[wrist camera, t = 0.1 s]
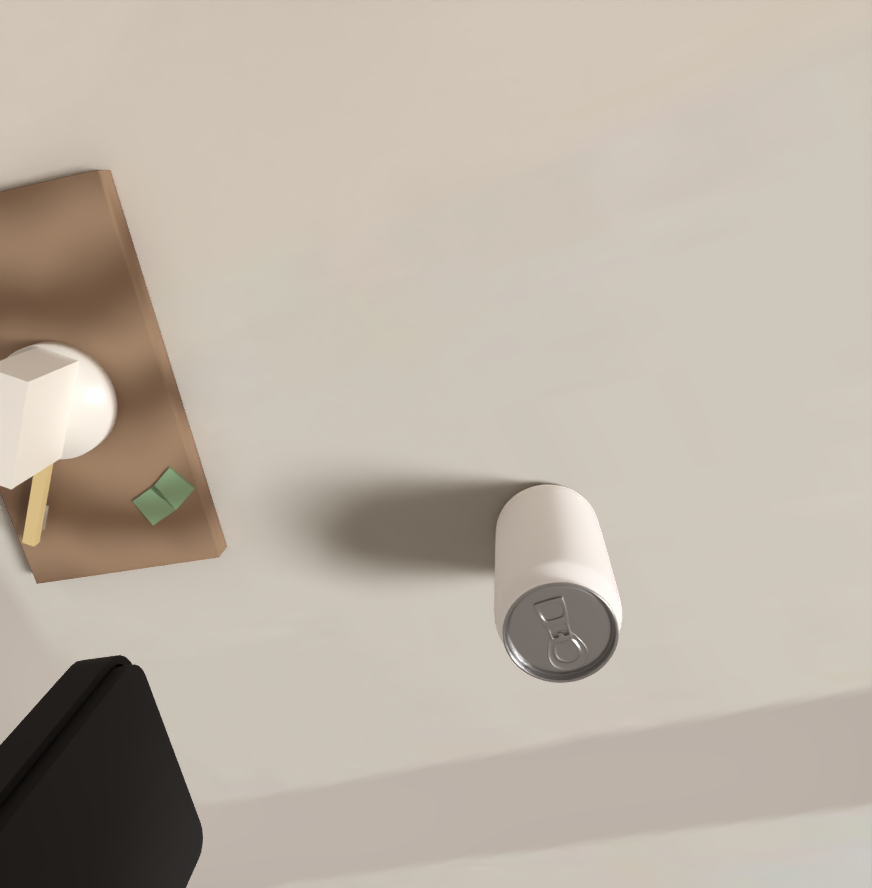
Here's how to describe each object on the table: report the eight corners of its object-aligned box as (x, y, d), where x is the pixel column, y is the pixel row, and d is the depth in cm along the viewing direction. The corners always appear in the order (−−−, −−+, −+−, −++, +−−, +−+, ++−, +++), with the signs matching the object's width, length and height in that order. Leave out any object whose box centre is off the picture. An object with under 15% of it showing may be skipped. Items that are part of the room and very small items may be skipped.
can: (514, 585, 50) (518, 704, 39) (481, 499, 48) (474, 596, 37) (611, 558, 49) (643, 671, 38) (580, 468, 47) (605, 558, 36)
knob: (14, 324, 45) (-59, 346, 39) (127, 364, 45) (71, 391, 40) (-15, 520, 50) (-84, 565, 44) (88, 555, 50) (33, 605, 44)
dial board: (-91, 215, 45) (-113, 217, 44) (110, 170, 44) (95, 170, 42) (49, 572, 53) (35, 585, 51) (226, 546, 51) (217, 558, 49)
